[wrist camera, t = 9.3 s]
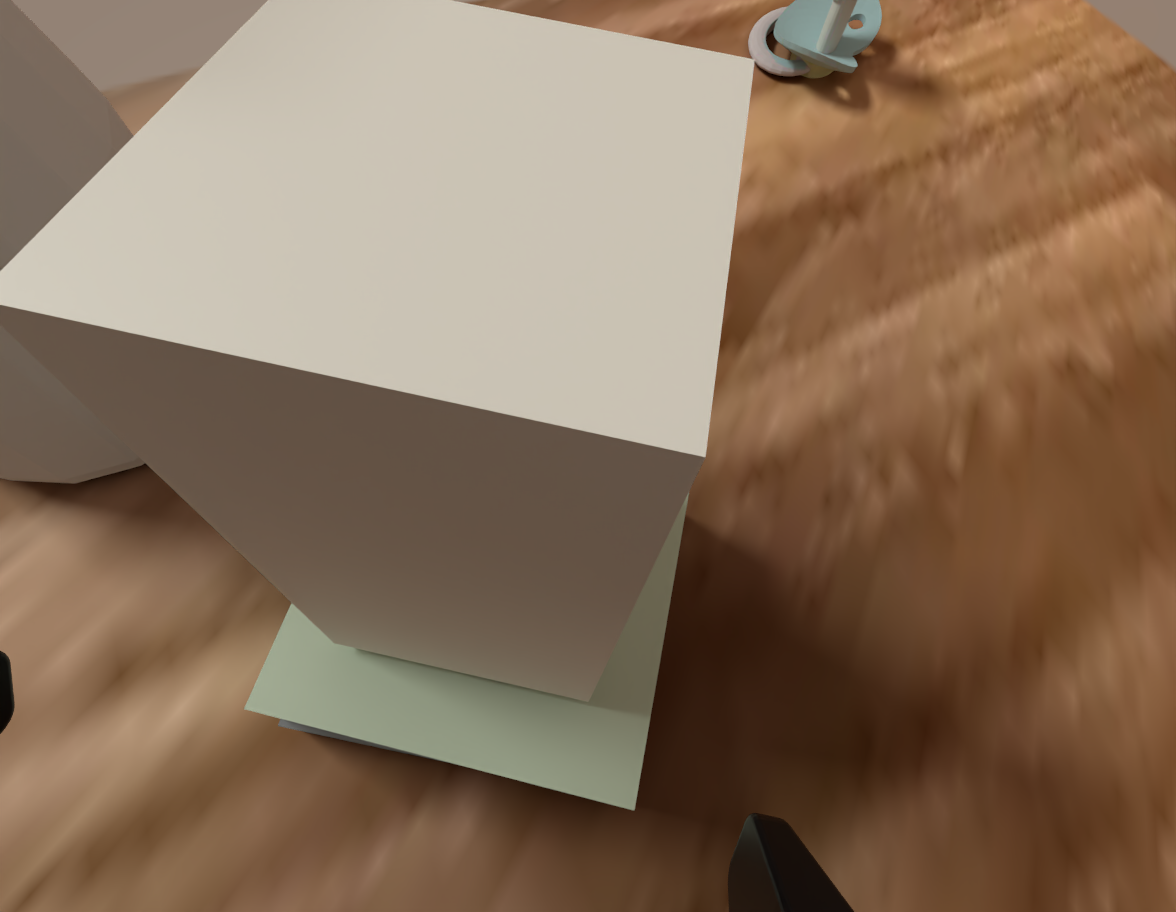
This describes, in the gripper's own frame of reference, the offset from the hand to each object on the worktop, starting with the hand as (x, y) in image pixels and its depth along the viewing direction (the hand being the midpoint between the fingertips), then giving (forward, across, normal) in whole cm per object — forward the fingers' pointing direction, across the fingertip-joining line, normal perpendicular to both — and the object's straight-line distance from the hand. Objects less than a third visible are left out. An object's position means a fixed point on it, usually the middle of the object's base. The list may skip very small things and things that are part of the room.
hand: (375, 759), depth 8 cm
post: (+8, 0, +1) cm, 9 cm away
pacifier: (+34, -8, -18) cm, 39 cm away
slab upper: (+10, 0, +3) cm, 10 cm away
